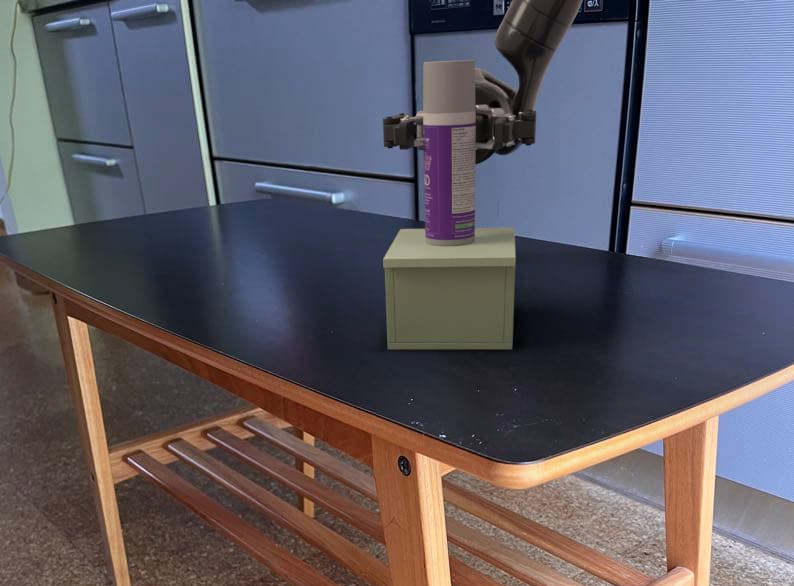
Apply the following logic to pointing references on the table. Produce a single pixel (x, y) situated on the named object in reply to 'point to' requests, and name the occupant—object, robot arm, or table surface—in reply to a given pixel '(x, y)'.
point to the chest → (450, 307)
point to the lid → (453, 250)
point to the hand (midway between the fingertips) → (450, 135)
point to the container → (449, 152)
